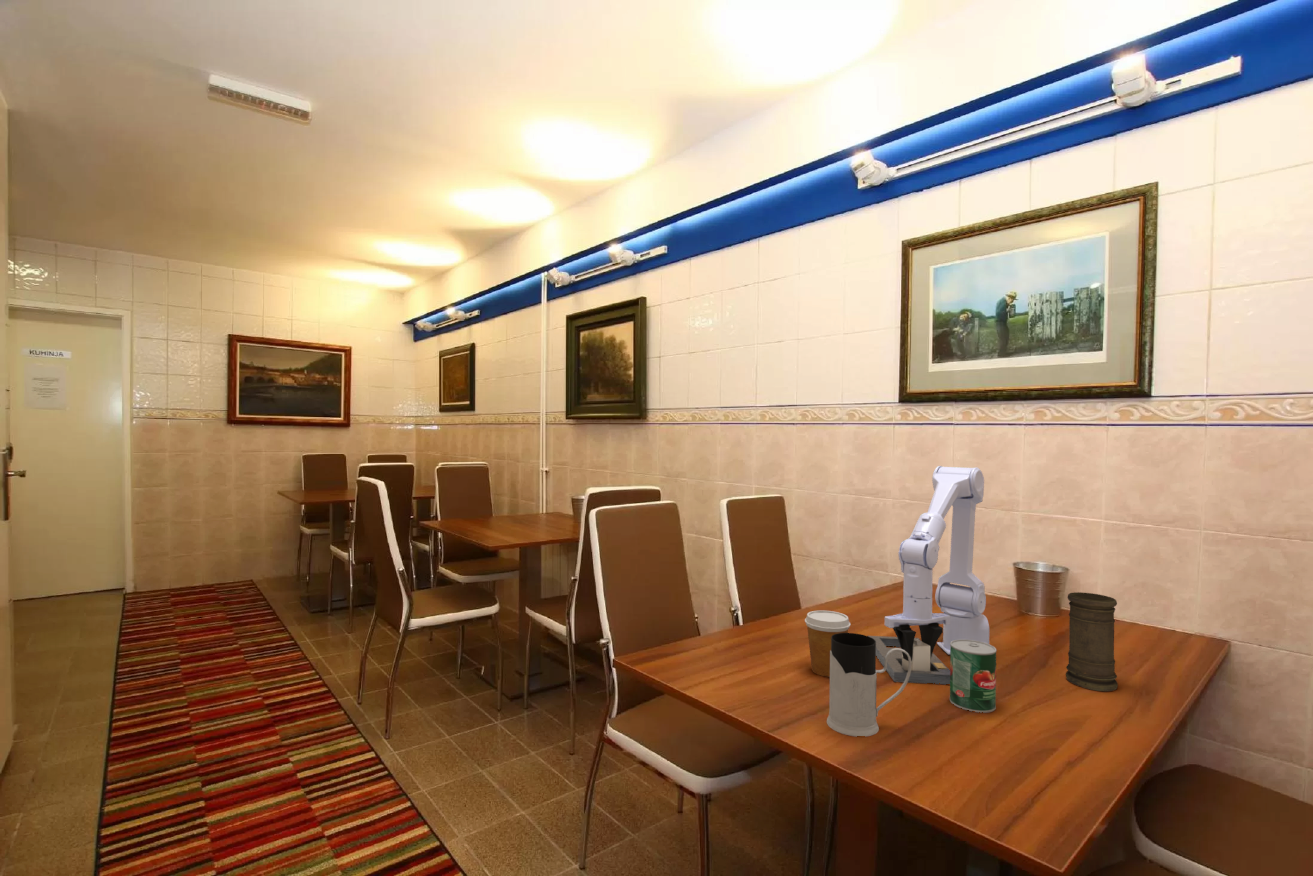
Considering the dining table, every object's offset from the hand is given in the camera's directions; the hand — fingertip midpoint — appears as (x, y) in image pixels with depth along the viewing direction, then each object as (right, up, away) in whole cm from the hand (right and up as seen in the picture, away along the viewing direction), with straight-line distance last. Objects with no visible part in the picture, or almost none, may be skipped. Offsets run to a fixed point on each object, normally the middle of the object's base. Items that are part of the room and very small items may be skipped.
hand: (916, 659), depth 133 cm
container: (+35, -4, -4) cm, 35 cm away
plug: (0, -3, 0) cm, 3 cm away
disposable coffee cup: (-19, -3, +1) cm, 19 cm away
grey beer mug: (-19, -3, -24) cm, 31 cm away
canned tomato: (+4, -4, -15) cm, 16 cm away
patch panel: (+1, -3, +7) cm, 8 cm away
